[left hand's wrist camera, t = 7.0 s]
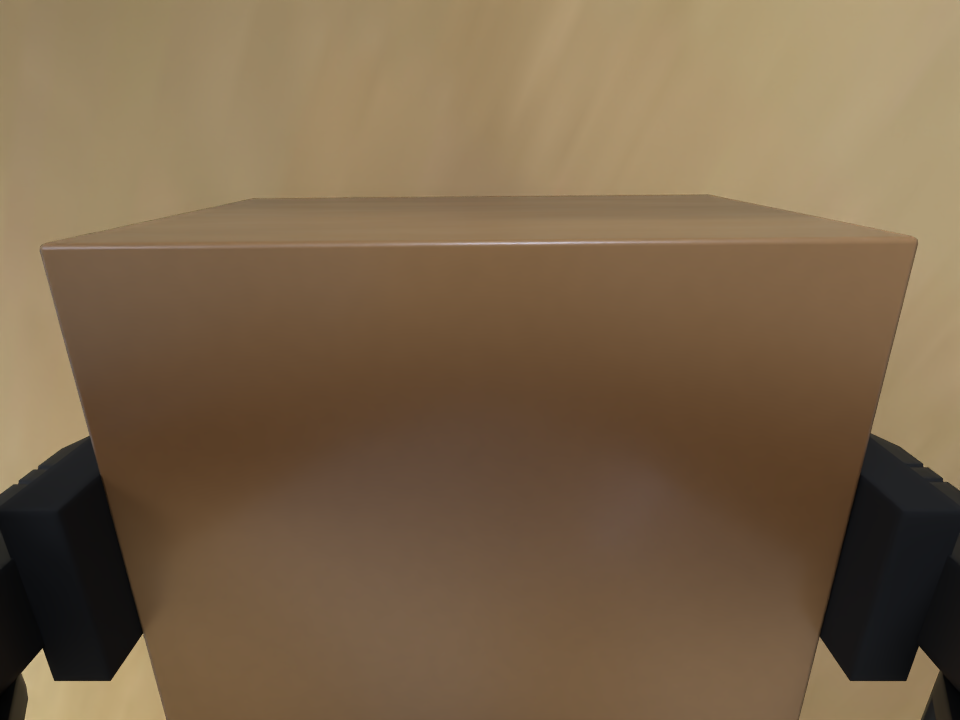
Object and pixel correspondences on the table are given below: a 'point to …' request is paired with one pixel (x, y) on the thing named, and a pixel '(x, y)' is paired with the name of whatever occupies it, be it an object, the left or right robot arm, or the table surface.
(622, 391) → the thick board
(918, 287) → the table surface
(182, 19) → the table surface
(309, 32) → the table surface
